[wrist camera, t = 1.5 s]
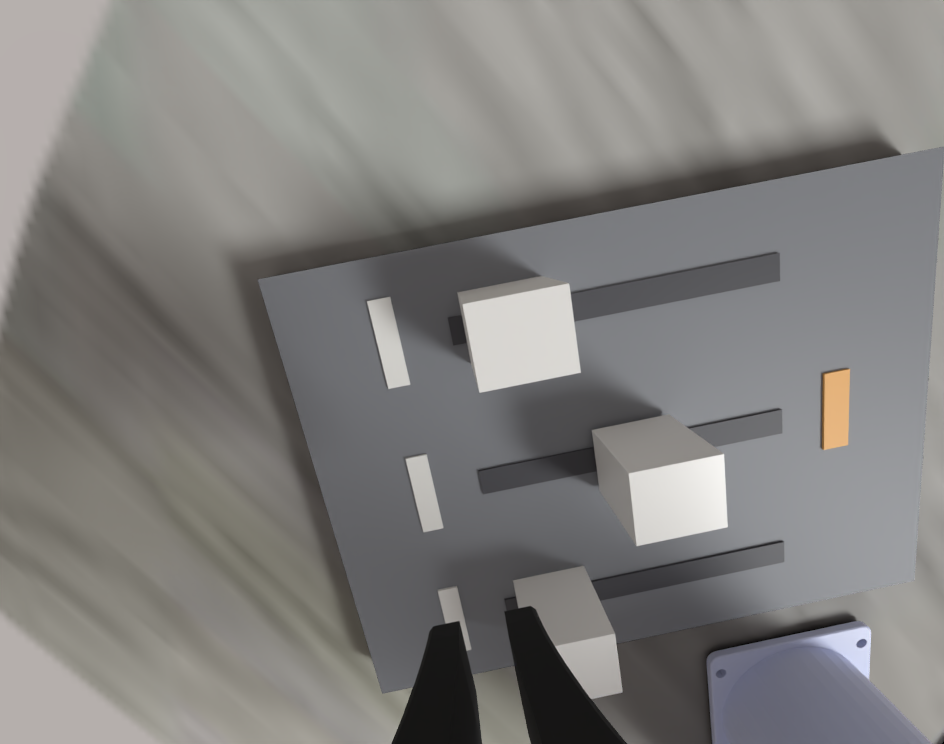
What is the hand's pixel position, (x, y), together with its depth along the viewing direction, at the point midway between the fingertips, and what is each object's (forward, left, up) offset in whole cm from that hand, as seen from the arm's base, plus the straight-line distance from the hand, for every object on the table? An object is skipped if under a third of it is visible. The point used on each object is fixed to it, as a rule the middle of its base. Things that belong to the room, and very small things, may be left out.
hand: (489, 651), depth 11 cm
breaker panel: (0, -7, -9) cm, 11 cm away
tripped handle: (0, -7, -8) cm, 10 cm away
